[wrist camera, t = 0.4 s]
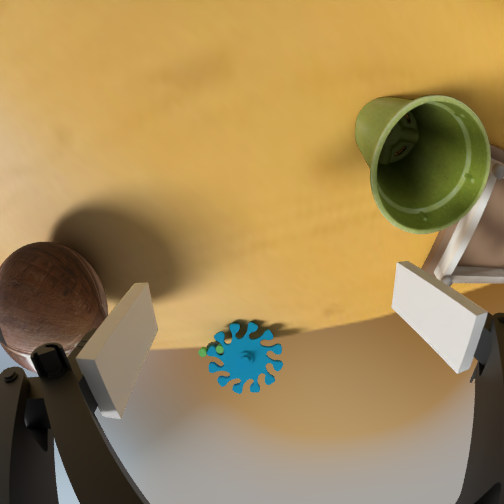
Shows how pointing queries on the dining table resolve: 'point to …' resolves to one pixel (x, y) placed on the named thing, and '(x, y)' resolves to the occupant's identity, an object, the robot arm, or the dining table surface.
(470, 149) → the plant pot
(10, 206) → the dining table surface
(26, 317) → the wooden sphere
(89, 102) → the dining table surface
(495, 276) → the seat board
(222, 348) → the blue plastic toy
